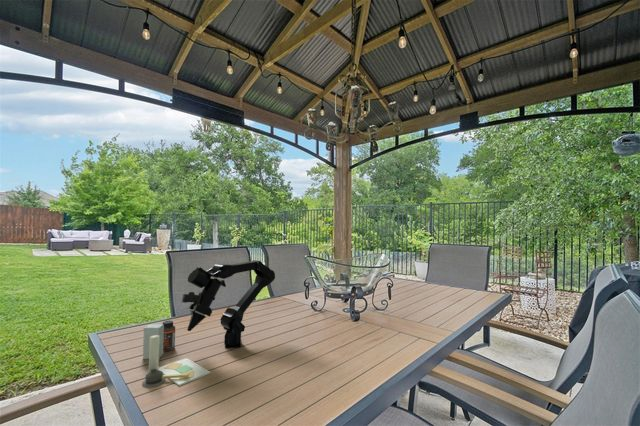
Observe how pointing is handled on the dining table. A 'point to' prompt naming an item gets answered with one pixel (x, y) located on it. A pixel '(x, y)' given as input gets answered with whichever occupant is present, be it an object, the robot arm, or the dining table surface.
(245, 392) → the dining table surface
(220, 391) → the dining table surface
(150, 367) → the peg dial
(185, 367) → the tuner board
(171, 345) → the supplement bottle
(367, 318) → the dining table surface
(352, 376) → the dining table surface
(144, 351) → the skincare box
